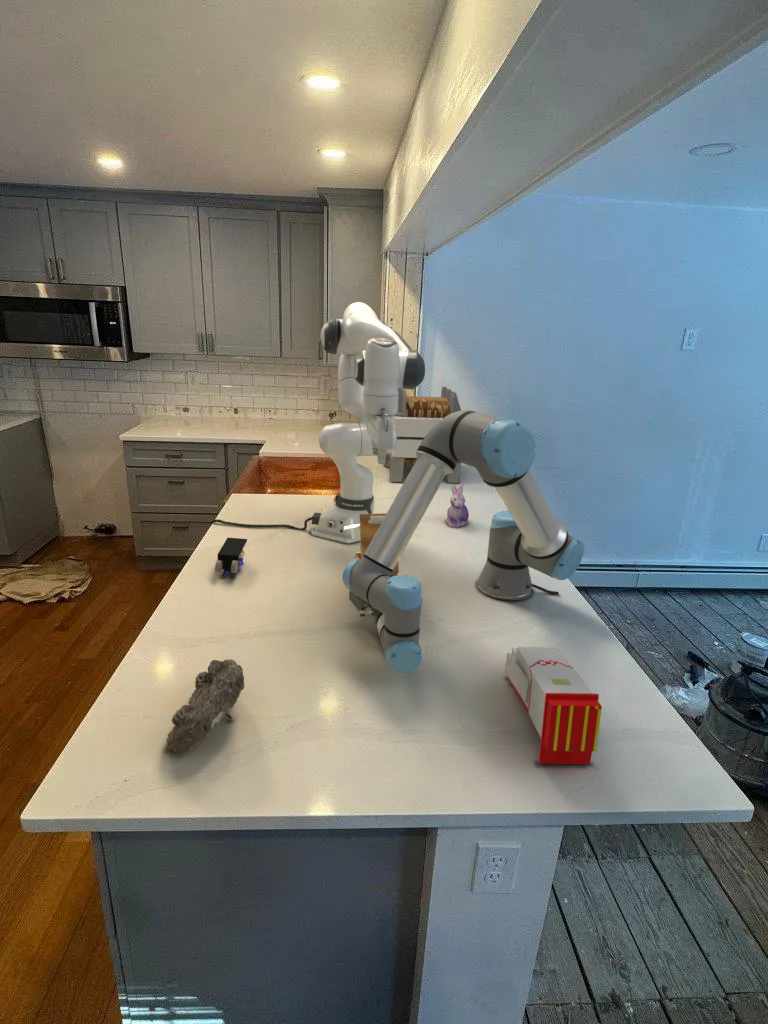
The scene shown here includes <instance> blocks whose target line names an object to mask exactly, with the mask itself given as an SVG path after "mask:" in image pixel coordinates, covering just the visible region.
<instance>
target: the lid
mask: <svg viewBox="0 0 768 1024" xmlns="http://www.w3.org/2000/svg"><path fill="white" fill-rule="evenodd" d="M386 514H387V513H373V514H360V541H359V542H360V553H361V559H362V557H363V556H364V553H365V552H366V550H367V548H368V546H369V545H370V543H371V541H372V539H373V537H374V536H375V534H376V532H377V530H378V528H379V527H380V525H381V523H382V521H383V519H384V518H385V516H386ZM399 567H400V566H399V561H398V562H397V564H396V565H395V567H394V569H393V571H392V573H398V574H399V573H400V569H399Z"/></svg>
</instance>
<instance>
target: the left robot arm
mask: <svg viewBox="0 0 768 1024" xmlns="http://www.w3.org/2000/svg"><path fill="white" fill-rule="evenodd" d="M319 337H320V344H321V345H322V348H323V350H324V352H326V353H327V354H331V355H340V356H339V359H338V365H337V389H338V390H337V393H338V404H339V406H340V408H341V409H342V410H343V412H345V413H347V414H349V415H351V416H352V417H354V419H356V421H357V422H337V423H331V424H327V425H324V427H322V429H321V430H320V432H319V435H318V444H319V447H320V450H321V451H322V452H323V454H325V455H326V456H327V457H329V458H330V459H331V460H332V462H333V463H334V464H335V466H336V467H337V470H338V474H339V483H340V484H339V485H340V488H339V489H340V490H339V491H338V492H337V494H336V495H335V496H334V497H333V502H334V504H333V505H331V506H329V507H328V508H326V509H325V510H323V512H314V513H313V514H312V516H310V517H308V518H306V519H305V520H304V522H303V527H301V528H299V527H296V526H294V525H290V524H281V523H279V524H250V523H249V524H247V523H239V522H231V521H226V520H222V519H217V518H216V519H213V520H212V521H210V523H209V524H210V525H213V524H214V523H220V524H224V525H229V526H236V527H245V528H289V529H292V530H297V531H306V530H307V528H308V522H311V525H313V526H312V528H311V530H310V533H311V536H315V537H319V538H323V539H326V540H330V541H336V542H339V543H343V544H352V543H357V542H361V541H360V514H374V513H373V512H374V509H375V496H374V474H373V472H372V471H371V469H369V468H368V467H366V466H364V465H362V464H360V463H359V462H357V458H358V457H377V463H378V464H379V465H384V464H385V458H386V454H388V453H391V452H392V451H393V449H394V448H395V445H396V441H397V438H396V433H395V431H394V429H393V420H392V419H393V417H392V416H393V415H394V414H397V413H398V397H399V392H398V388H403V389H404V390H411V391H413V390H414V389H416V388H417V387H419V386H420V385H421V383H422V382H423V381H424V380H425V376H426V364H425V359H424V358H423V356H422V355H421V353H419V352H418V350H415V349H413V348H412V347H411V346H410V345H409V344H408V342H407V341H406V340H405V339H404V338H403V337H402V336H401V334H400V333H399V332H397V331H396V330H394V329H393V328H391V327H390V326H388V324H386V322H385V321H382V320H380V319H379V317H378V316H377V314H376V312H375V311H374V310H373V308H371V307H370V306H369V305H368V304H366V303H365V302H361V301H356V302H353V303H350V304H349V305H348V306H346V308H345V309H344V311H343V316H342V318H337V317H334V318H333V319H329V320H327V321H326V322H324V324H322V328H321V331H320V335H319Z"/></svg>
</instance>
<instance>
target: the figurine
mask: <svg viewBox="0 0 768 1024" xmlns="http://www.w3.org/2000/svg"><path fill="white" fill-rule="evenodd" d="M463 491H464V483H461V484H460V485H459V487H456V485H455V484H452V485H451V496H450V500H449V501H450V506H449V507H448V508H447V514H446V516H447V517H446V523H447V525H448V526H449V527H454V528H460V527H464V526H466V525H468V521H469V517H470V516H469V510H468V507H467V506H466V504H465V503H466V498H465V496H464V492H463Z"/></svg>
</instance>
